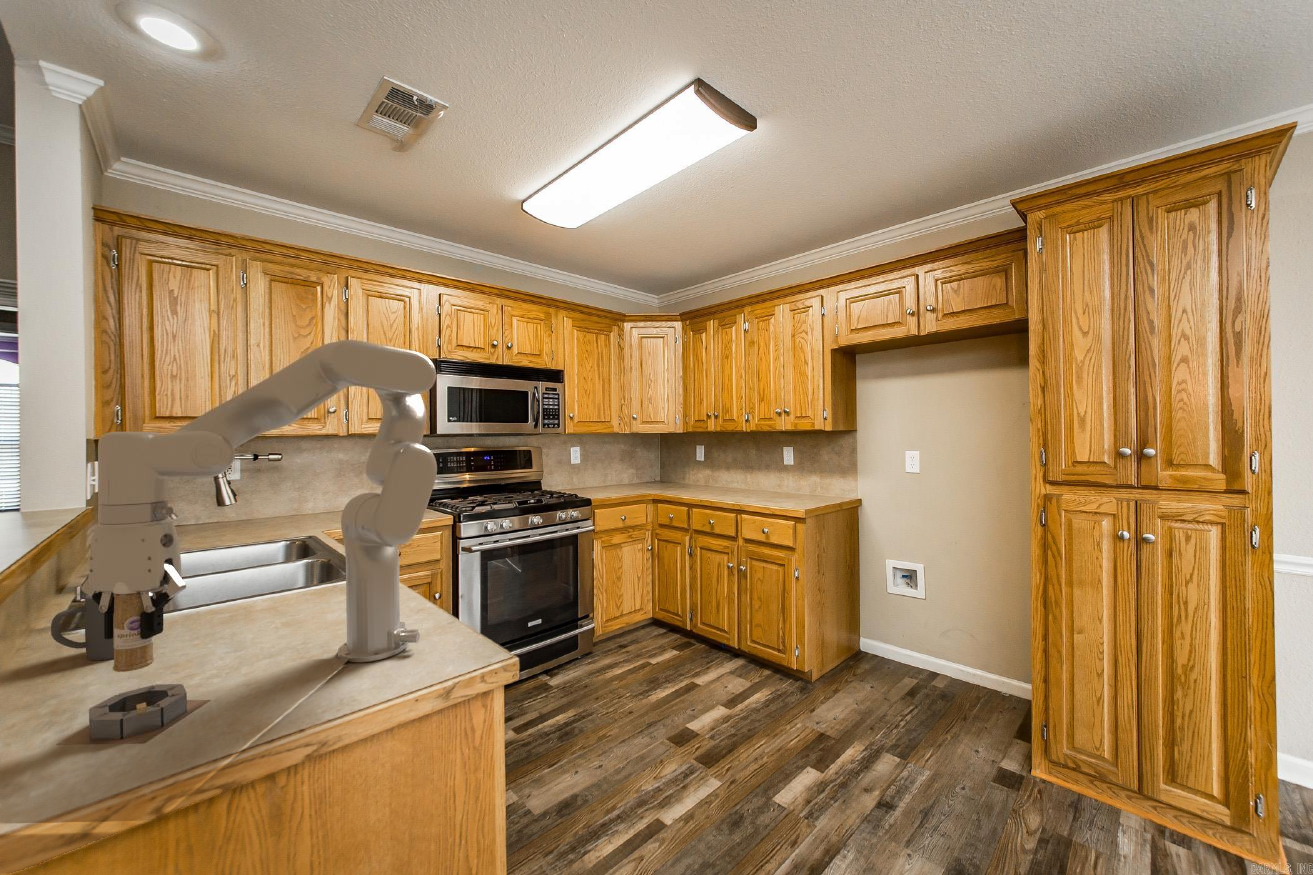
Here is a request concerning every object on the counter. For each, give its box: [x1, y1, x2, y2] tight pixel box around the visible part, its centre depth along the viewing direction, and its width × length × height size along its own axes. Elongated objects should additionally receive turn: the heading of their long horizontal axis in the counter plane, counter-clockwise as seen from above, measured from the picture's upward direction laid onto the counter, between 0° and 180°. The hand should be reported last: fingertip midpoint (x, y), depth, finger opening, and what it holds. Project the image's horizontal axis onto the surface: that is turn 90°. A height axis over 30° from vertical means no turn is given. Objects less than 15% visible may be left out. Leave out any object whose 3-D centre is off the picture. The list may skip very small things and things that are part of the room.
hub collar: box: [88, 683, 188, 741], centre depth 83 cm, size 10×10×4 cm
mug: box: [50, 594, 114, 661], centre depth 108 cm, size 14×9×12 cm
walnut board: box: [56, 699, 212, 746], centre depth 83 cm, size 12×12×1 cm
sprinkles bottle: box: [112, 583, 155, 673], centre depth 82 cm, size 5×5×14 cm
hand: (134, 634), depth 82 cm, fingers closed on sprinkles bottle, 4 cm apart
